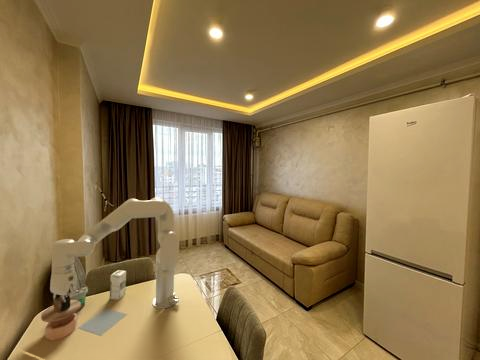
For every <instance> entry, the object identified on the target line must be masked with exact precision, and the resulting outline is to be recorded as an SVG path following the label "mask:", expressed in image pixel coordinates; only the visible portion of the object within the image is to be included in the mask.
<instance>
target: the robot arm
mask: <svg viewBox="0 0 480 360" xmlns="http://www.w3.org/2000/svg"><path fill="white" fill-rule="evenodd" d="M143 218H144V219H145V218H146V219H147V218H157V227H158V228H157V241H158V243H159V249H158V250H157V251H156V255H155V263H156V265H155V266H156V270H155V273H156V275H155V297H154V299H153V300H152V306H153V308H155V309H161V310H164V309H168V308H170V307H173V305H175V304H176V305H177V304H179V302H180V301H179V298H180V297H179V296H176V292H175V290H174V287H175V286H174V285H175V268H177V265H178V264H179V260H180V257H179V256H180V240H179V236H178V234H177V233H176V231H175V214H174V210H173V208H172V207H171V205H170V204H169V203H168V202H167V201H166V200H164V199H162V197H161V198H160V197H153V198H151V199H150V200H139V199H136V198H129V199H127V200H126V201H124V202H123V203H122V204H121V205H119V206H118V207H117V208H116V209H114V210H113V211H112V212H110V213H109V214H108V215H107V216H106V217H104V218H103V219H102V220H101V221H99V222H98V223H96V224H95V225H94V226H92V227H91V228H90V229H89V230H88V231H86V232H85V233H84V234H83V235H82V236H80V237H79V238H78V240H77V241H75V240H74V239H72V238H63V239H60V240H56V241H54V242H53V244H52V251H51V252H52V254H51V256H52V257H51V275H50V283H49V290H50V293H51V294H52V296H53V297H52V298H53V300H54V299H56V298H58V297H60V296H62V298H63V302H62V307H61V311H64V310H66V309H68V308H70V299H71V298H72V297H73V296H75V292H74V291H76V290H77V273H76V269H75V257H78V258H79V257H81V258H82V257H87V256H90V255H91V254H92V253H93V252H94V250H95V247H96V244H98V243H99V242H101V240H103V239H104V238H105V237H106V236H108V235H109V234H111V233H113V232H116V231H119V230H120V229H122V228H123V227H124V226H125V225H126V224H127V223H128V222H130V221H131V220H132V219H143ZM66 295H68V296H67V297H66Z"/></svg>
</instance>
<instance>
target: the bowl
mask: <svg viewBox="0 0 480 360" xmlns="http://www.w3.org/2000/svg"><path fill="white" fill-rule="evenodd" d="M78 315H79V314H78V313H77V312H76V313H74V314H73V315H71V316H69V317H67V318H65V319H62V320H59V321H54V322H47V324H46V326H45V334H44V335H45V336H44V337H45V339H47V340H50V341H55V340H58V339H61V338H66V336H68V335H70V334H71V333H72V332H74V331H75V330H76V329H77V326H78V321H79V319H78V318H79V317H78Z"/></svg>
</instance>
